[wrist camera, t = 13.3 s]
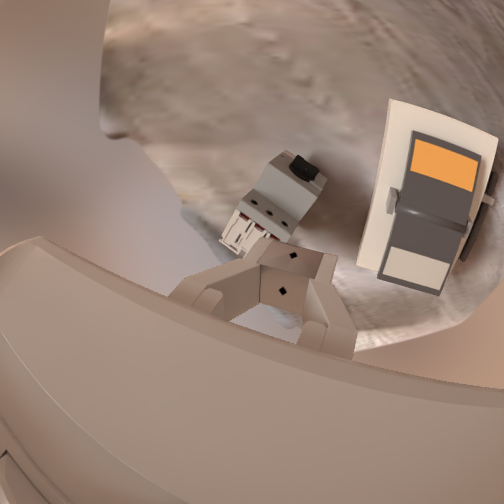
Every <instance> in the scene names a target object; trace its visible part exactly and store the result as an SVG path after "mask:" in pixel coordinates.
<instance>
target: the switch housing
mask: <svg viewBox="0 0 504 504" xmlns="http://www.w3.org/2000/svg"><path fill="white" fill-rule="evenodd" d="M412 130H414V131H417V132H421V133H424V134H427V135H430V136H433V137H436V138H438V139H441V140H444V141H447V142H450V143H452V144H455V145H457V146H460V147H462V148H465V149H467V150H470V151H472V152H475V153H477V154H479V155H481V156H482V157H481V163H480V168H479V174H478V179H477V184H476V188H475V192H474V197H473V201H472V205H471V209H470V212H469V216H468V219H467V223H466V224H467V229H466V232H465V234H464V235H463V236H462V239H461V242H460V245H459V248H458V251H457V253H456V256H455V259H454V262H453V264H452V267H451V269H450V272H449V275H450V273H451V271H452V269H453V267H454V265H455V263H456V261H457V259H458V257H459V255H460V253H461V251H462V248H463V246H464V244H465V242H466V239H467V238H468V235H469V233H470V230H471V228H472V226H473V222H474V220H475V217H476V215H477V212H478V209H479V206H480V204H481V201H482V198H483V195H484V192H485V189H486V186H487V182H488V179H489V175H490V172H491V168H492V165H493V161H494V157H495V153H496V148H497V144H498V138H496V137H494V136H492V135H490V134H488V133H486V132H484V131H482V130H480V129H478V128H476V127H473V126H471V125H469V124H466V123H464V122H461V121H459V120H456V119H454V118H451V117H449V116H446V115H443V114H440V113H438V112H435V111H432V110H429V109H426V108H423V107H419V106H416V105H413V104H409V103H406V102H402V101H399V100H395V99H391V98H389V104H388V112H387V119H386V126H385V133H384V139H383V145H382V150H381V156H380V161H379V166H378V171H377V176H376V181H375V186H374V190H373V194H372V199H371V203H370V207H369V211H368V215H367V219H366V223H365V227H364V231H363V234H362V238H361V242H360V245H359V251H358V256H357V262H356V266H360V267H363V268H367V269H370V270H374V271H377V272H378V271H379V268H380V264H381V261H382V258H383V255H384V252H385V248H386V245H387V242H388V238H389V235H390V231H391V228H392V224H393V220H394V216H395V212H394V211H395V205H396V202H397V201H398V200H399V196H400V191H401V187H402V182H403V177H404V172H405V167H406V162H407V156H408V150H409V144H410V138H411V131H412ZM449 275H448V277H449ZM448 277H447V279H448ZM447 279H446V281H447ZM445 283H446V282H445ZM444 285H445V284H444Z"/></svg>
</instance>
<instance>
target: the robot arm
mask: <svg viewBox="0 0 504 504" xmlns="http://www.w3.org/2000/svg"><path fill="white" fill-rule="evenodd" d="M337 259H338V256H336V255H332V254H327V253H322V252H318V251H314V250H310V249H306V248H301V247H299V246H295V245H292V244H288V243H284V242H281V241H277V240H273V239H270V238H266V237H260V238H259V239H258V240H257V241H256V243H255V244H254V245H253V246H252V248H251V249H250V250H249V252H248V253H247V254H246V256H245V257H244V258H243V259H236V260H233V261H231V262H228V263H225V264H222V265H219V266H217V267H214V268H211V269H208V270H206V271H203V272H200V273H197V274H194V275H191V276H189V277H186V278H184V279H183V280H182V281H181V283H180V284H179V285H178V286H177V287H176V288H175V289H174V290H173V291H172V292H171V293H170V295H169V296H168V297H166V296H164V295H161V294H159V293H157V292H154V291H152V290H150V289H148V288H145V287H143V286H141V285H138V284H136V283H134V282H132V281H130V280H127V279H125V278H123V277H121V276H119V275H117V274H115V273H113V272H111V271H109V270H106V269H105V268H102V267H100V266H98V265H96V264H94V263H92V262H90V261H88V260H87V259H84V258H83V257H81V256H79V255H77V254H75V253H73V252H71V251H69V250H67V249H65V248H64V247H62V246H60V245H58V244H56V243H54V242H52V241H51V240H49V239H48V238H46V237H36V238H32V239H28V240H25V241H22V242H20V243H17V244H15V245H13V246H11V247H9V248H7V249H6V250H5V251H3V252H1V253H0V504H504V389H497V388H487V387H479V386H473V385H466V384H459V383H453V382H447V381H441V380H436V379H431V378H425V377H420V376H415V375H410V374H406V373H401V372H397V371H392V370H388V369H383V368H379V367H375V366H371V365H367V364H363V363H359V362H355V361H352V357H353V352H354V348H355V343H356V339H357V334H358V333H357V330H356V328H355V326H354V324H353V322H352V320H351V318H350V316H349V314H348V312H347V310H346V308H345V306H344V304H343V302H342V300H341V298H340V296H339V294H338V292H337V290H336V288H335V286H334V285H332V284H331V282H332V278H333V275H334V271H335V267H336V263H337ZM259 303H263V304H266V305H269V306H273V307H276V308H280V309H283V310H286V311H289V312H292V313H295V314H298V315H301V316H302V319H303V323H304V328H303V330H302V332H301V335H300V337H299V339H298V342H297V344H293V343H290V342H286V341H284V340H281V339H278V338H274V337H272V336H269V335H266V334H263V333H260V332H257V331H254V330H251V329H248V328H245V327H243V326H240V325H237V324H234V323H232V322H229V321H230V320H232V319H234V318H235V317H237V316H239V315H241V314H242V313H244V312H246V311H247V310H249V309H251V308H253V307H254V306H256V305H258V304H259Z"/></svg>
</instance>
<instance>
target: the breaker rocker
mask: <svg viewBox="0 0 504 504" xmlns="http://www.w3.org/2000/svg"><path fill="white" fill-rule="evenodd" d="M481 157H482V156H481V155H479V154H477V153H475V152H472V151H470V150H467V149H465V148H462V147H460V146H457V145H455V144H452V143H450V142H447V141H444V140H441V139H438V138H436V137H433V136H430V135H427V134H424V133H421V132H417V131H414V130H412V131H411V138H410V144H409V150H408V156H407V162H406V167H405V172H404V177H403V182H402V187H401V191H400V196H399V200H398V201H397V202H396V205H395V211H394V212H395V216H394V220H393V224H392V228H391V231H390V235H389V238H388V242H387V245H386V248H385V252H384V255H383V258H382V261H381V264H380V268H379V271H378V274H377V279H380V280H384V281H387V282H391V283H395V284H398V285H402V286H405V287H409V288H412V289H416V290H419V291H423V292H426V293H430V294H433V295H437V296H440V293H441V291H442V289H443V287H444V284H445V282H446V279H447V277H448V275H449V272H450V269H451V267H452V264H453V262H454V259H455V256H456V253H457V251H458V248H459V245H460V242H461V239H462V236H463V235H464V234H465V232H466V229H467V224H466V223H467V219H468V216H469V212H470V209H471V205H472V201H473V197H474V192H475V188H476V184H477V179H478V174H479V168H480V163H481Z"/></svg>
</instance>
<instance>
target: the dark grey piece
mask: <svg viewBox="0 0 504 504" xmlns="http://www.w3.org/2000/svg"><path fill="white" fill-rule="evenodd" d="M493 163H494V161H493ZM492 167H493V165H492ZM491 171H492V168H491ZM490 174H491V172H490ZM489 178H490V175H489ZM497 179H498V174H497V173H496V172H493V173H492V175H491V179H490V182H489V185H488V189H487V192H484V195H483V198H482V201H481V203H482V202H483V203H482V206H481V209H480V212H479V214H478V212H477V214H478V217H477V220H476V222H475V225H474V227H473V226H472V227H473V230H472V232H471V234H470V233H469V234H470V237H469V239H468V238H467V239H468V241H467V239H466V241H467V244H466V246H465V248H464V246H463V248H464V250H463V248H462V250H463V253H462V255H461V257H460V260H461V261H462V262H464V261H465V260H466V258H467V256H468V254H469V252H470V250H471V248H472V245H473V243H474V241H475V239H476V236H477V234H478V232H479V229H480V227H481V224H482V222H483V219H484V217H485V214H486V212H487V209H488V206H489V205H492V206H493V203H494V200H495V199H494V198H493V196H492V195H493V192H494V188H495V185H496V182H497ZM488 181H489V179H488ZM487 184H488V182H487ZM486 188H487V186H486ZM485 191H486V189H485ZM480 205H481V204H480ZM479 208H480V206H479ZM478 211H479V209H478ZM476 216H477V215H476ZM475 219H476V217H475ZM474 221H475V220H474ZM473 224H474V222H473ZM471 229H472V228H471ZM470 231H471V230H470ZM468 236H469V235H468ZM465 243H466V242H465ZM464 245H465V244H464ZM461 252H462V251H461ZM460 254H461V253H460ZM459 256H460V255H459ZM458 258H459V257H458Z"/></svg>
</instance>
